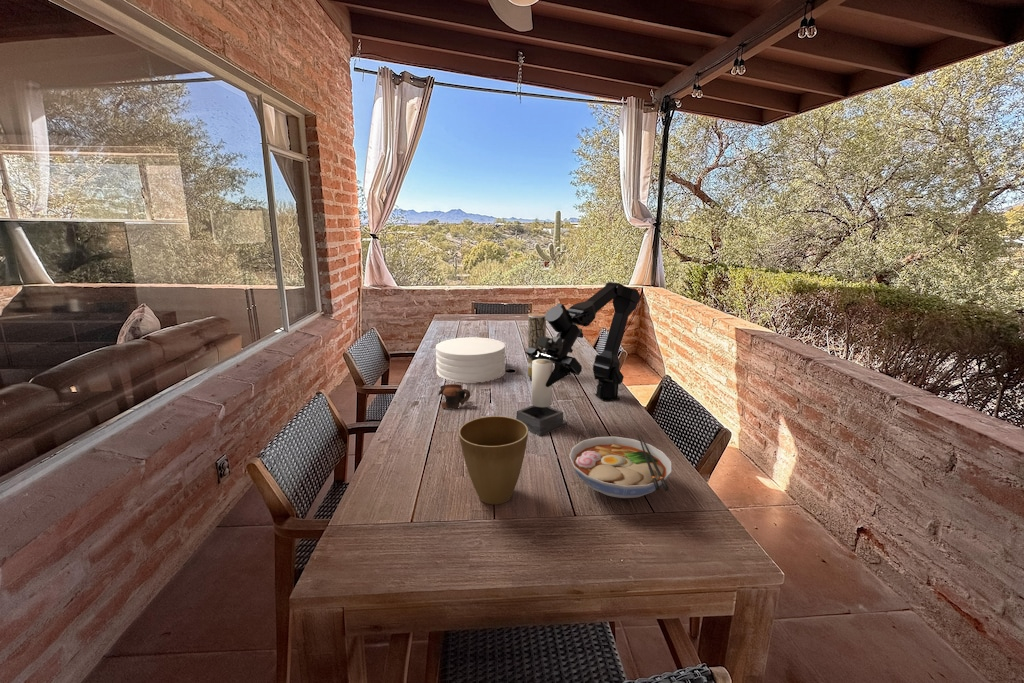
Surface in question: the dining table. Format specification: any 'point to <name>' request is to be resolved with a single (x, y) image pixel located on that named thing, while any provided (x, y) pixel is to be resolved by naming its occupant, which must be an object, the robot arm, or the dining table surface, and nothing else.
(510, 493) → the plant pot
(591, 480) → the ramen bowl
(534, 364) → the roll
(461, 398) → the pottery mug
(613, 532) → the dining table surface
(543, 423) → the holder
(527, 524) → the dining table surface
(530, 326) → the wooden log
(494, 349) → the plate stack
